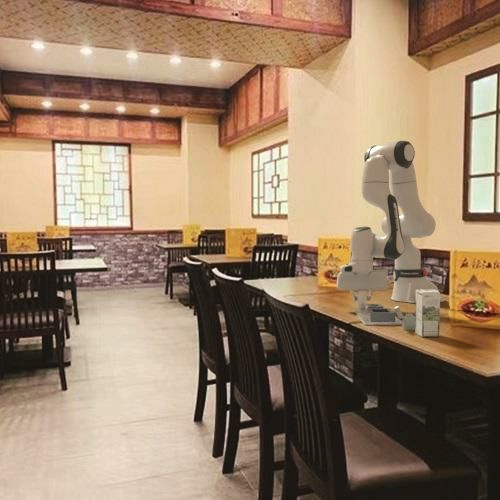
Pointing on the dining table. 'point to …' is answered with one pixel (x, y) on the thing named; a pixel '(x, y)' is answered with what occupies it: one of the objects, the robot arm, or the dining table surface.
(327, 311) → the dining table surface
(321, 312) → the dining table surface
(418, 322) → the syrup box
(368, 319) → the fitting board
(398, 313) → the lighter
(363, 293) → the white rounded cylinder
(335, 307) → the dining table surface
